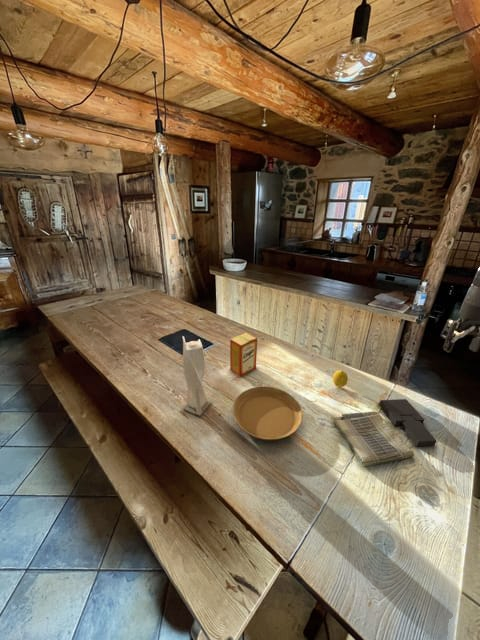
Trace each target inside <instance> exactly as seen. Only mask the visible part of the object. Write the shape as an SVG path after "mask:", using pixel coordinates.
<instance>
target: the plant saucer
mask: <svg viewBox="0 0 480 640" xmlns="http://www.w3.org/2000/svg"><path fill="white" fill-rule="evenodd" d="M232 417H233V419H234V421H235V423H236V424H237V426H238V427H239V428H240V429H241V430H242V431H243V432H244V433H246V434H247V435H248V436H250V437H252V438H255V439H258V440H263V441H279V440H282V439H285V438H287V437H289V436H291V435H293V434H294V433H295V432H296V431H297V430H298V429H299V427H300V426H301V424H302V422H303V411H302V408H301V405H300V402H298V400H297V399H296V398H295V397H294V396H293V395H292V394H290V393H289V392H287V391H285V390H283V389H280V388H277V387H273V386H267V385H265V386H264V385H263V386H255V387H251V388H248V389H246V390H244V391H242V392H241V393H240V394H239V395H238V396H236V398H235V400H234V402H233V405H232Z"/></svg>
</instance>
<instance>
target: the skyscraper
mask: <svg viewBox="0 0 480 640" xmlns="http://www.w3.org/2000/svg"><path fill="white" fill-rule="evenodd" d="M182 369H183V376H184V380H185V382H186V385H187V394H186V396H187V397H186V406H185V407H184V408H183V410H184V411H186V412H187V413H188V412H189V413H191V414H194V415H196V416H198V417H201V416H202V415H203V414H204V413H205V411H206V410H207V409H208V407H209V406H210V405H211V404H212V403H211V402H210V401H208V400H207V397H206V396H207V395H206V393H205V389H204V386H203V379H204V376H205V370H206V358H205V352H204V348H203V344H202V341H201V339H197V340H191V341H189V342H188V341H187V342H186V339H185V336H182Z"/></svg>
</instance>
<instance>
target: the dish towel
mask: <svg viewBox="0 0 480 640" xmlns="http://www.w3.org/2000/svg"><path fill="white" fill-rule="evenodd" d="M333 422H334V423H335V426H336V427H337V428H338V430H339V431H340V433H341V434H342V436H343V438H344V439H345V440H346V442H347V443H348V445H349V447H350V448H351V450H352V451H353V454H354V455H355V456H356V458H357V459H358V460H359V463H360V464H361V466H362V467H369V466H370V467H371V466H375V465H380V464H386V463H390V462H394V461H401V460H405V459H410V458H412V457H415V455H414V454H415V453H414V451H413V450H412V449H411V448H410V447H409V446H407V444H406V443H405V442H404V441H403V440H402V439H401V438H400V437H399V436H398V435H397V433H396V432H395V430H393V428H391V427H392V426H390V425H389V424H388V423H387V422H386V420H385V419H384V418H383V417H382V415H381V414H380V413H379V411H376V410H371V411H364V412H363V411H362V412H351V413H342V414H341V416H335V417H334V418H333Z"/></svg>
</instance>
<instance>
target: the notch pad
mask: <svg viewBox="0 0 480 640" xmlns="http://www.w3.org/2000/svg"><path fill="white" fill-rule="evenodd" d="M378 406H379V407H380V409H381V410H382V412H384V414H385V416H386V417H387V419H389V421H390V422H391V423H392V425H393V426H394V427H401V425H402V423H403V422H404V420H403V419H402V417H401V416H410V415H412V416H413V417H414V418H415V419H416V421H420V422H421V423H422V424H423V425H424V422H425V418H424V417H423V416H422V415H421V414H420V413H419V411H418V410H417V409H416V408H415V407H414V406H413V405H412V404H411V403H410V401H408V399H407V398H399V399H380V401H379V404H378Z"/></svg>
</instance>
